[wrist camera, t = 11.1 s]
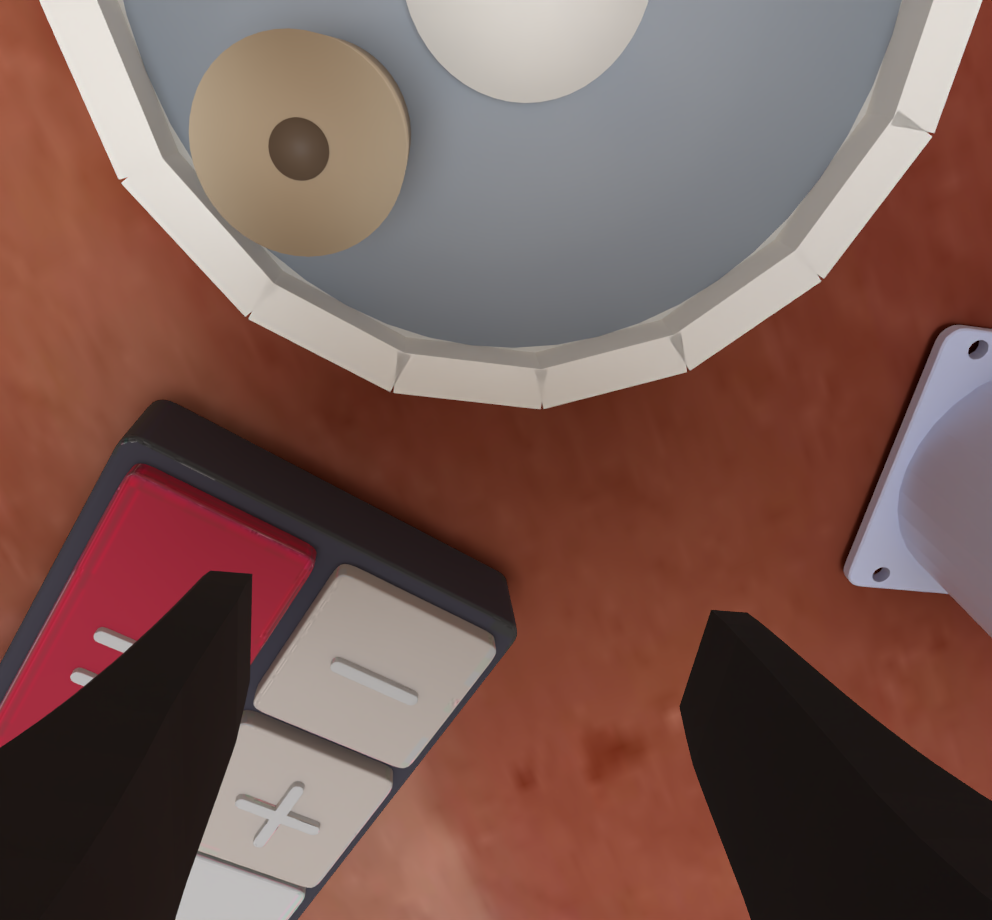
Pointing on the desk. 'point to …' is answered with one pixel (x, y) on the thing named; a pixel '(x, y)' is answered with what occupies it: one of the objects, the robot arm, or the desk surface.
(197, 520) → the calculator
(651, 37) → the ring tray
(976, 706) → the desk surface
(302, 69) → the wooden bead
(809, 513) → the desk surface
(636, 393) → the desk surface
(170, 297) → the desk surface
